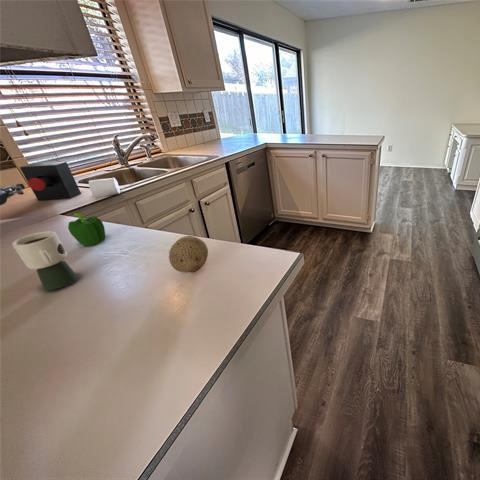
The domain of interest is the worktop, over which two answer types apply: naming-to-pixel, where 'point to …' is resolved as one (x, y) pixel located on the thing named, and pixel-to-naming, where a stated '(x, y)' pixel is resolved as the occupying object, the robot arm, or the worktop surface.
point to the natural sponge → (188, 254)
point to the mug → (104, 187)
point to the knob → (39, 183)
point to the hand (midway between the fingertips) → (21, 186)
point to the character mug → (46, 259)
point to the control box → (52, 180)
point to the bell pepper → (87, 230)
